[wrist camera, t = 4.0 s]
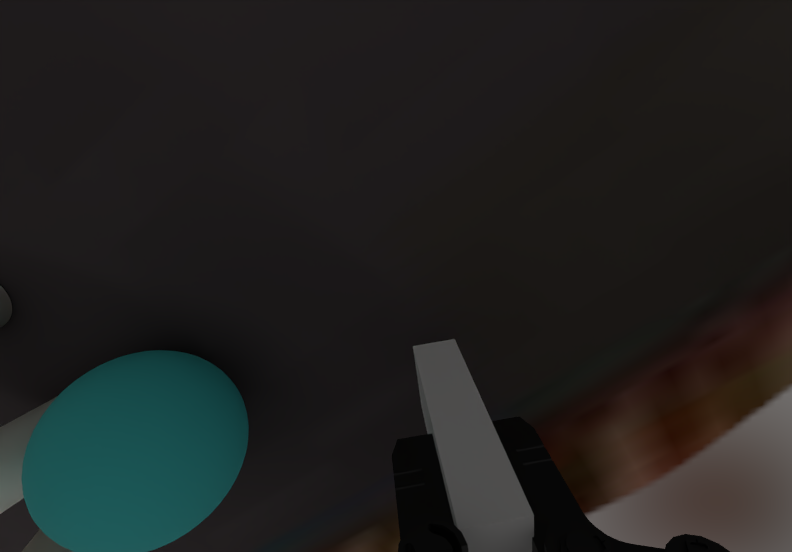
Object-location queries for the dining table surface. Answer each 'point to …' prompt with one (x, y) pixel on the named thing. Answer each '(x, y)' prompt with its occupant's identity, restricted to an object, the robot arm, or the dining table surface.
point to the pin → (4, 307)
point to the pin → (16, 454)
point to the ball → (135, 453)
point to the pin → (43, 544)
